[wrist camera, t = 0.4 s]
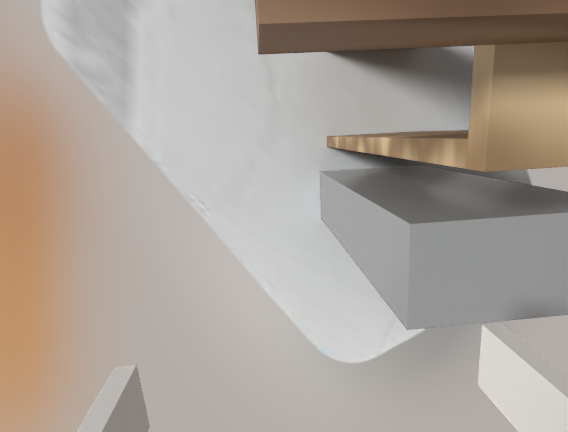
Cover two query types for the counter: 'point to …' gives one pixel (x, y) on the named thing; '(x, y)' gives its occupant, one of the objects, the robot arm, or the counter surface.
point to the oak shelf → (495, 115)
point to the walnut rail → (405, 24)
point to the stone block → (452, 243)
